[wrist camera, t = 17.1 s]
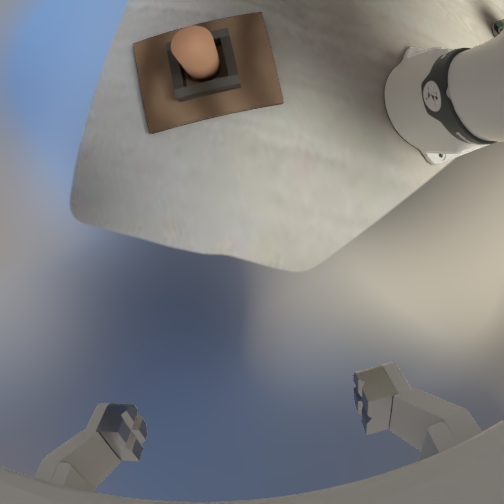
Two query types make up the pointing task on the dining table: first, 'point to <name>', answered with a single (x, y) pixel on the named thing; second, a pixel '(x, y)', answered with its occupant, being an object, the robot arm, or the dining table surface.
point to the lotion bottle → (498, 27)
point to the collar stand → (214, 91)
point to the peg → (196, 53)
